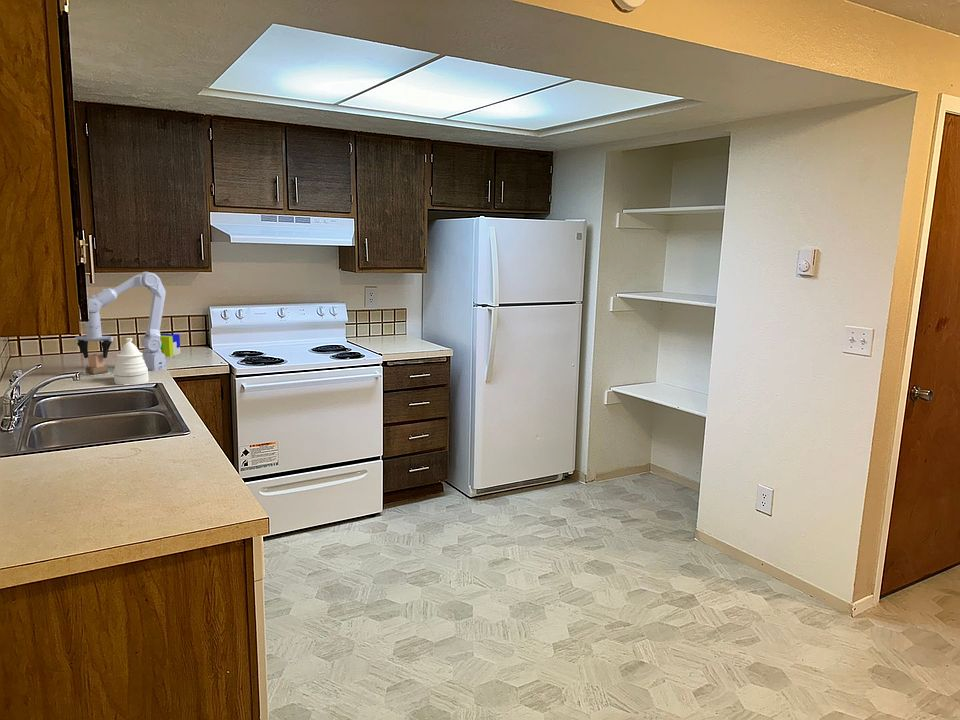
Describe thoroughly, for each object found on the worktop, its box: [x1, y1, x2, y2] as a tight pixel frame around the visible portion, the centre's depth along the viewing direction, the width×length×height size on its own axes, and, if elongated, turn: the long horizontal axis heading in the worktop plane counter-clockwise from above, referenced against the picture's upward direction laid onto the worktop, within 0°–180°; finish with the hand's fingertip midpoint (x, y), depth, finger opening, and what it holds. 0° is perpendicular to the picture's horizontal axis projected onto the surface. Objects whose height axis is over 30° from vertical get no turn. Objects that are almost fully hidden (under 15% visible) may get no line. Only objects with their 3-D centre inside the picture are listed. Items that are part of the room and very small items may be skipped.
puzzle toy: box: [160, 333, 181, 358], centre depth 343 cm, size 10×10×10 cm
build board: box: [79, 366, 115, 378], centre depth 295 cm, size 12×18×1 cm, turn 149°
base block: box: [85, 365, 108, 375], centre depth 290 cm, size 6×6×3 cm
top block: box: [87, 353, 105, 368], centre depth 290 cm, size 4×4×5 cm
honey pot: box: [113, 337, 150, 386], centre depth 280 cm, size 13×13×18 cm
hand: (95, 357), depth 289 cm, fingers open, 7 cm apart
